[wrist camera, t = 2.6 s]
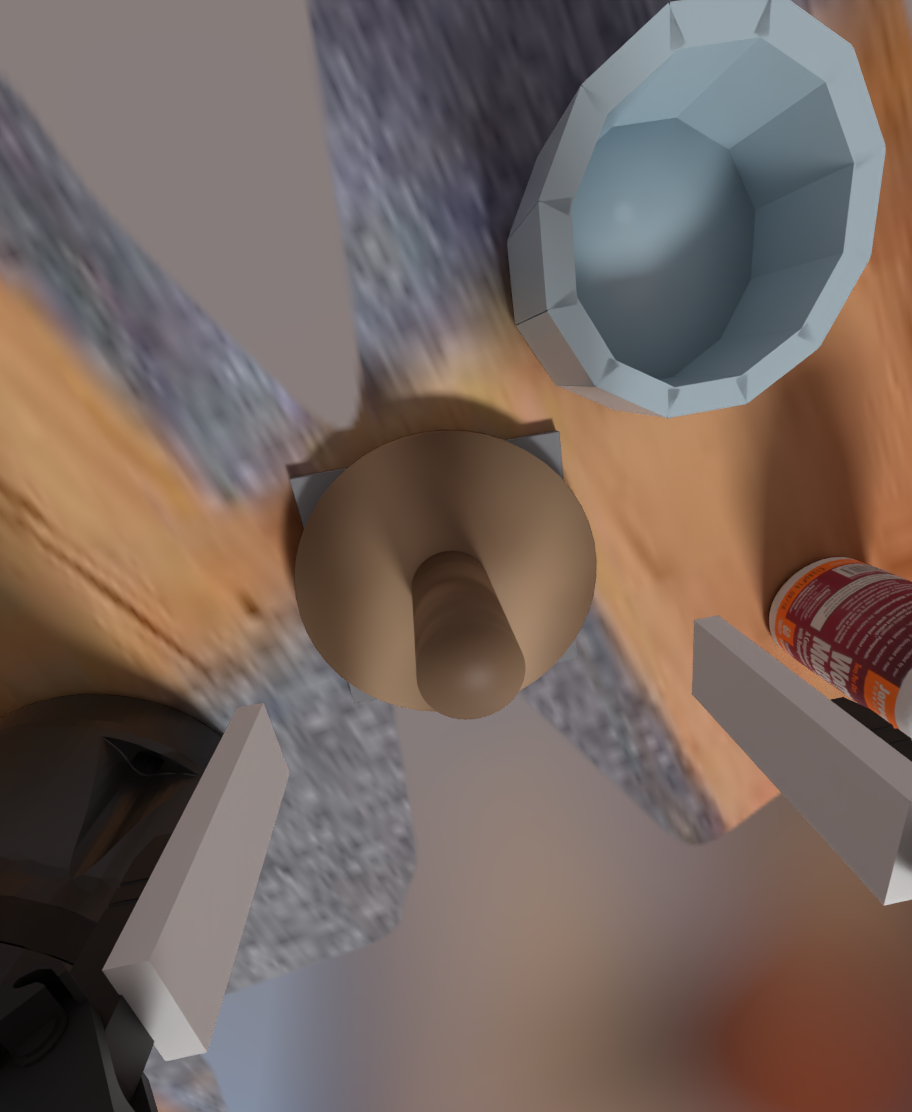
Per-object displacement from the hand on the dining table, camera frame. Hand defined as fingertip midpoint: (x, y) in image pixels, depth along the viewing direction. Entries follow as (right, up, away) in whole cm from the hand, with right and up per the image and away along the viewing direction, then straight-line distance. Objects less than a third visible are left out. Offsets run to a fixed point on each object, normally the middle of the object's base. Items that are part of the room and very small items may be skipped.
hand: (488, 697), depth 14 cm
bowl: (+7, +16, +5) cm, 18 cm away
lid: (-1, +3, +9) cm, 9 cm away
